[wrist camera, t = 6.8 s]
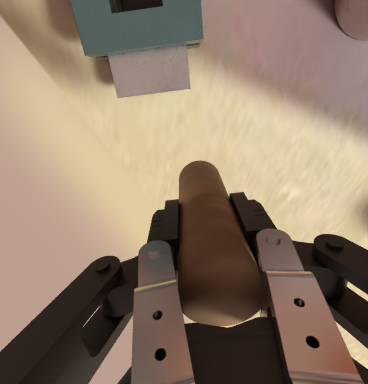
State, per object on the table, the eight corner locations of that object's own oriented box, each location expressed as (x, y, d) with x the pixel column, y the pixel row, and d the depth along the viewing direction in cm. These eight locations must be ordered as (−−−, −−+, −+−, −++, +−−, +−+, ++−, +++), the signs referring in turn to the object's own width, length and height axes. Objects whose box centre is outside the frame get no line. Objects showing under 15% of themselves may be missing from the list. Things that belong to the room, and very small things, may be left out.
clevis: (187, -104, 20) (189, -164, 15) (201, 86, 27) (206, 87, 22) (68, -85, 21) (32, -136, 16) (112, 97, 27) (97, 101, 23)
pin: (218, 158, 16) (268, 260, 7) (220, 195, 17) (265, 322, 8) (176, 163, 16) (171, 271, 7) (182, 200, 17) (183, 329, 8)
